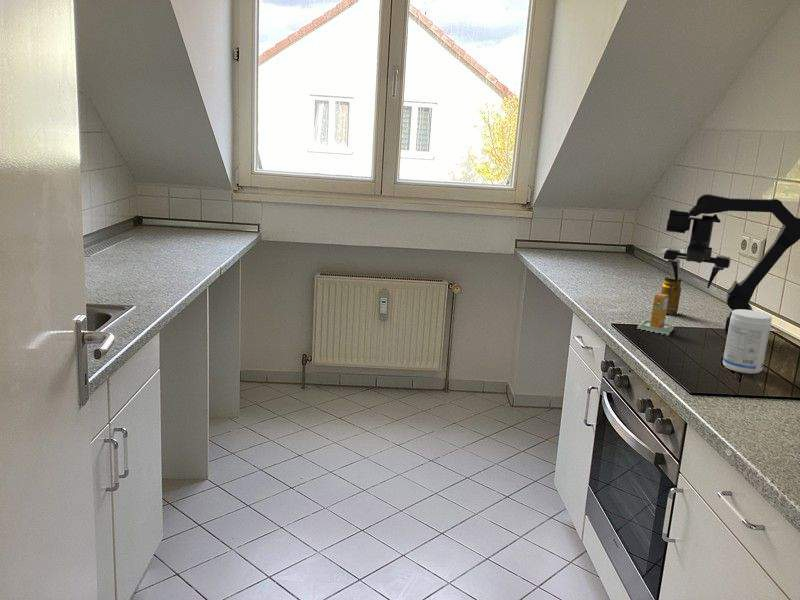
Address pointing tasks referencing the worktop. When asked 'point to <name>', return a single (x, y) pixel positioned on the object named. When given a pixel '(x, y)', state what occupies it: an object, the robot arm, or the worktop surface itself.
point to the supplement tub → (747, 341)
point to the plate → (646, 326)
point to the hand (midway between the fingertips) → (692, 285)
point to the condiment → (672, 295)
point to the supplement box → (659, 310)
